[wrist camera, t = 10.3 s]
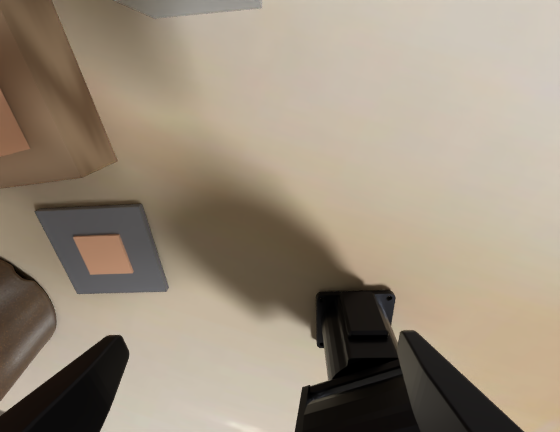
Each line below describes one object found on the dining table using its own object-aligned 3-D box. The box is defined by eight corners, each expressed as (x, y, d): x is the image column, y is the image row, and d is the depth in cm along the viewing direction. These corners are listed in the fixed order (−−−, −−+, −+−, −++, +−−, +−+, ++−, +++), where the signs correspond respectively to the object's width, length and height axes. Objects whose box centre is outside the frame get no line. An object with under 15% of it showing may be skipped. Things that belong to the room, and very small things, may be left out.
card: (168, 287, 24) (165, 293, 23) (81, 290, 24) (75, 295, 24) (141, 203, 20) (137, 207, 19) (40, 208, 21) (32, 212, 20)
